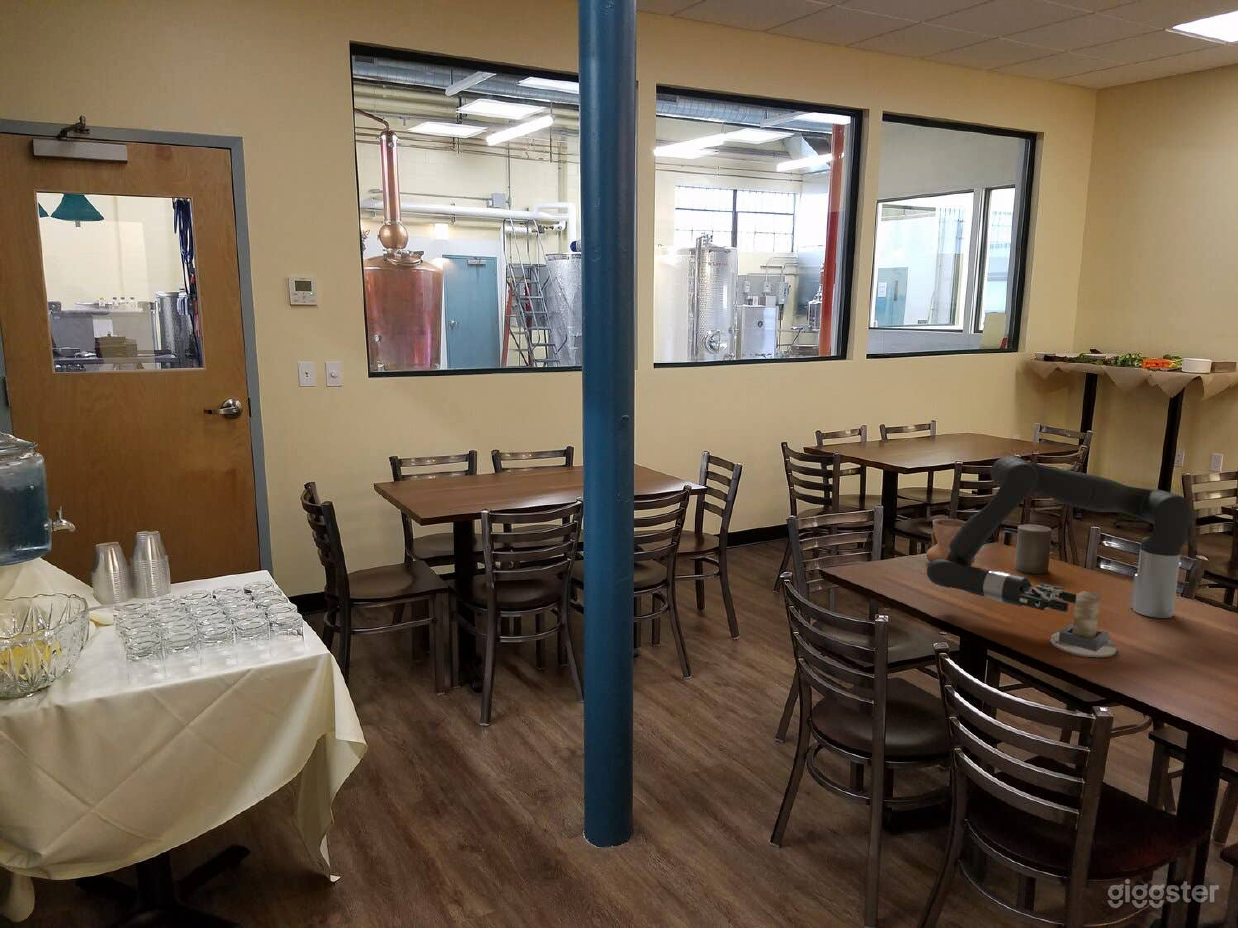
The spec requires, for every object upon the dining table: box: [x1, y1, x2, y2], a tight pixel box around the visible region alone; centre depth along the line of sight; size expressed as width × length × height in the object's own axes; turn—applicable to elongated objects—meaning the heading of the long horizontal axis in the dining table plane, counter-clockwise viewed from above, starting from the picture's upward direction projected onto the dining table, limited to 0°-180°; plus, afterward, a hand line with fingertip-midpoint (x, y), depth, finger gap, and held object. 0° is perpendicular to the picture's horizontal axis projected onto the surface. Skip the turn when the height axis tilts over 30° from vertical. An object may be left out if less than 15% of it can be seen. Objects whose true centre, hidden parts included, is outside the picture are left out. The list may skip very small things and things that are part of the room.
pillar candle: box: [1014, 523, 1053, 575], centre depth 271 cm, size 10×10×15 cm
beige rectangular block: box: [1072, 590, 1101, 639], centre depth 208 cm, size 4×4×12 cm
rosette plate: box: [1050, 623, 1117, 659], centre depth 209 cm, size 14×14×4 cm
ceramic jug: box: [925, 518, 976, 567], centre depth 275 cm, size 18×14×14 cm
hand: (1074, 603), depth 210 cm, fingers open, 8 cm apart
